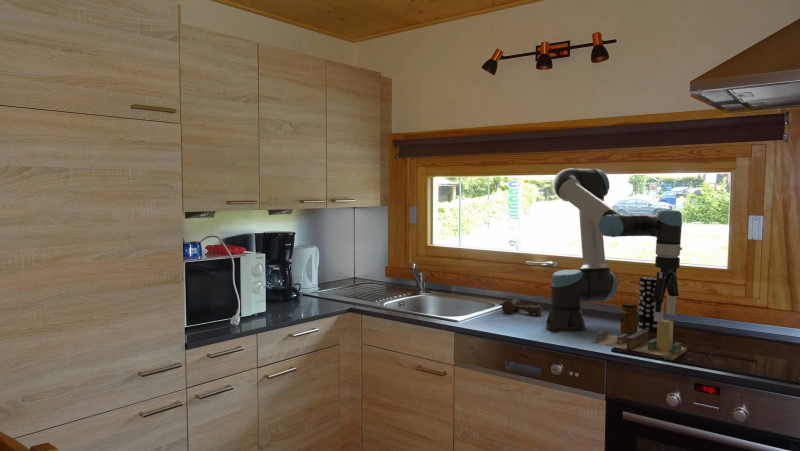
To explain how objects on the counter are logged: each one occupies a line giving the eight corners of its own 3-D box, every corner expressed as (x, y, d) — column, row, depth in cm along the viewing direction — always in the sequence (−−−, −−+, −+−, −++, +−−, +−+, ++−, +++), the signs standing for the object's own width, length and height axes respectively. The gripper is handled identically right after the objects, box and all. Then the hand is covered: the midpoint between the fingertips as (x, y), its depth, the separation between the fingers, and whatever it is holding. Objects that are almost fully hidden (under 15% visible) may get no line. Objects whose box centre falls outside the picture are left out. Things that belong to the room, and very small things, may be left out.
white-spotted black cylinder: (662, 326, 236) (663, 277, 235) (658, 330, 229) (660, 280, 228) (640, 324, 240) (641, 276, 239) (636, 327, 234) (637, 278, 232)
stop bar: (656, 349, 198) (657, 320, 197) (660, 347, 201) (661, 319, 200) (668, 352, 195) (669, 322, 194) (672, 349, 198) (673, 320, 197)
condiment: (616, 332, 226) (617, 302, 225) (639, 333, 225) (640, 302, 224) (623, 337, 218) (623, 306, 218) (645, 337, 218) (646, 306, 217)
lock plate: (589, 345, 207) (589, 331, 206) (606, 336, 219) (607, 323, 219) (673, 360, 189) (673, 345, 188) (686, 350, 201) (687, 336, 200)
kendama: (536, 319, 252) (494, 312, 263) (544, 315, 260) (502, 309, 271) (537, 305, 251) (494, 299, 262) (545, 302, 259) (503, 296, 270)
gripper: (668, 260, 184) (665, 326, 186) (689, 253, 203) (686, 313, 204) (643, 258, 189) (641, 322, 191) (667, 251, 208) (664, 310, 209)
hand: (664, 317), depth 197 cm, fingers open, 13 cm apart
